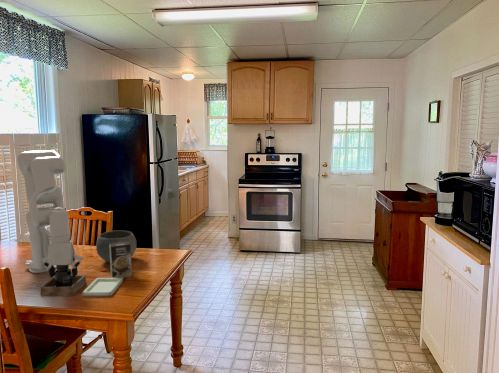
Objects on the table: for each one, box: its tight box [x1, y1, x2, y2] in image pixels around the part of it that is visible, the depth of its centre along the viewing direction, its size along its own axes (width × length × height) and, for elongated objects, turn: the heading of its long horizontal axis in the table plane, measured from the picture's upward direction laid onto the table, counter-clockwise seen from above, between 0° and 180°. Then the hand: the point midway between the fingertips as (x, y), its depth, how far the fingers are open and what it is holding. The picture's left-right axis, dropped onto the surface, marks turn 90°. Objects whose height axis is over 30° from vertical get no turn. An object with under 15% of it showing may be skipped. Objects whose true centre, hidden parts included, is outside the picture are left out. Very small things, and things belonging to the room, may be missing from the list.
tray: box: [81, 277, 124, 297], centre depth 171 cm, size 12×16×2 cm
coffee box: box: [109, 241, 133, 279], centre depth 185 cm, size 9×6×16 cm
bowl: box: [95, 230, 138, 264], centre depth 205 cm, size 20×20×15 cm
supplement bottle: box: [54, 265, 74, 287], centre depth 169 cm, size 7×7×12 cm
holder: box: [39, 274, 87, 297], centre depth 170 cm, size 14×14×4 cm
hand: (63, 276), depth 169 cm, fingers open, 9 cm apart
